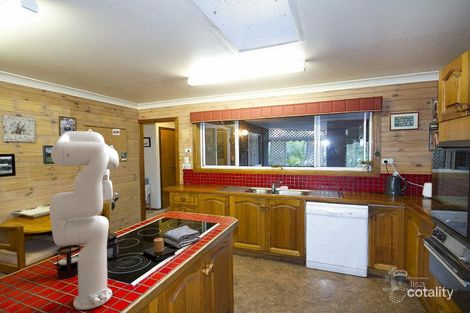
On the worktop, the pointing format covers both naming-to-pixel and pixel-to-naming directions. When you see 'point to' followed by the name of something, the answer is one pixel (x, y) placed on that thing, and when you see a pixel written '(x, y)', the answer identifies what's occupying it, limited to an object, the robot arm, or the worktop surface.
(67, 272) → the french press
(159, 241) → the oak knob
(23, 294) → the worktop surface
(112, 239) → the supplement container
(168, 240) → the towel
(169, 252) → the panel
